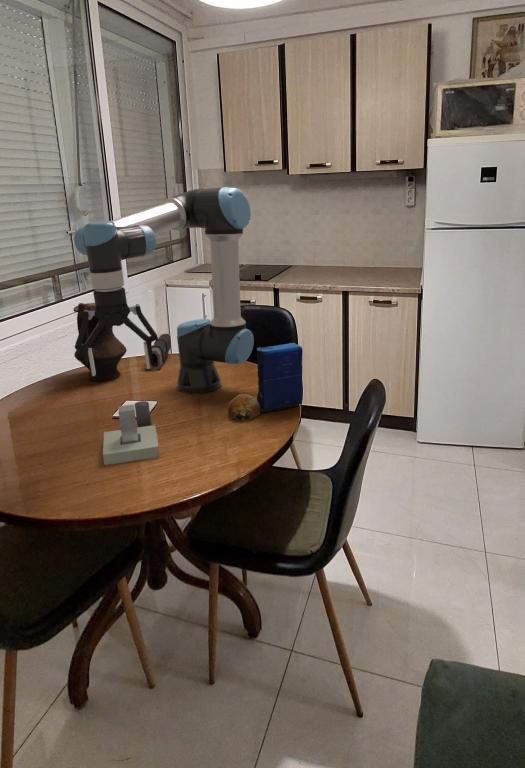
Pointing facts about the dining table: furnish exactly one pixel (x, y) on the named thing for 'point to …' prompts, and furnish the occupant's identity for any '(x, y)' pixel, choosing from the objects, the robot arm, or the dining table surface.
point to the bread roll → (244, 407)
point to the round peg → (142, 414)
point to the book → (279, 376)
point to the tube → (159, 352)
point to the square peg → (128, 424)
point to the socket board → (130, 446)
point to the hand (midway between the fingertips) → (121, 370)
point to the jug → (100, 347)
